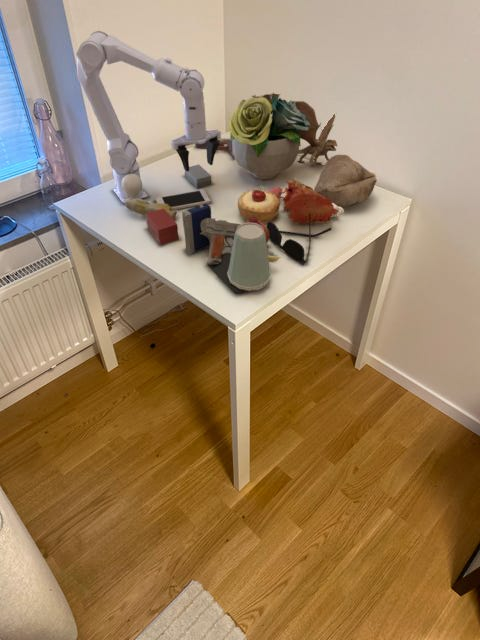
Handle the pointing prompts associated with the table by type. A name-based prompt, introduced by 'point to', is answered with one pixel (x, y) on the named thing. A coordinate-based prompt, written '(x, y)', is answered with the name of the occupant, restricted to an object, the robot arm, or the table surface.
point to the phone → (225, 272)
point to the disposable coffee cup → (249, 258)
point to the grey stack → (198, 176)
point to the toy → (269, 252)
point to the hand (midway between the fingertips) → (198, 166)
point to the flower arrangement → (266, 134)
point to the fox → (273, 258)
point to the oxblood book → (161, 222)
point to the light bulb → (132, 185)
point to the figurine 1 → (148, 207)
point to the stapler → (338, 210)
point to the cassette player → (195, 227)
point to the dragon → (314, 135)
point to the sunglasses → (291, 241)
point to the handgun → (221, 145)
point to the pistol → (217, 237)
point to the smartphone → (185, 199)
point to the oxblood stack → (163, 236)
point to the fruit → (255, 220)
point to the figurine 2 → (278, 192)
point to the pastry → (258, 205)
